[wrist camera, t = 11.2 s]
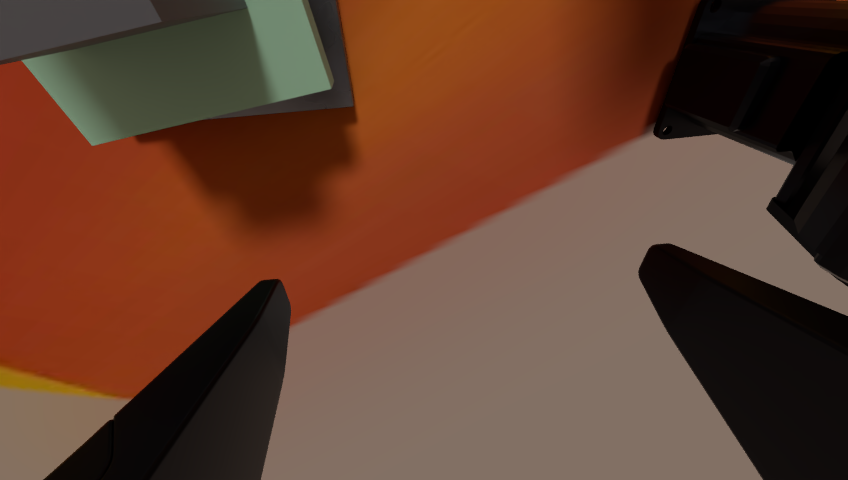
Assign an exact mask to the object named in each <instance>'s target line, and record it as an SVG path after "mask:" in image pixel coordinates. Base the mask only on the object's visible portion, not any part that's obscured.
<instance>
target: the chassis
mask: <svg viewBox="0 0 848 480" xmlns="http://www.w3.org/2000/svg"><path fill="white" fill-rule="evenodd" d="M308 2H309V5H310V8H311V11H312V14H313V17H314V20H315V23H316V26H317V30H318V33H319V36H320V39H321V42H322V45H323V48H324V51H325V54H326V57H327V60H328V63H329V66H330V69H331V72H332V75H333V79H334V83H333V86H332V89H329V90H325V91H321V92H316V93H312V94H308V95H304V96H299V97H295V98H291V99H287V100H283V101H278V102H274V103H270V104H266V105H262V106H257V107H253V108H249V109H245V110H241V111H236V112H232V113H228V114H224V115H219V116H215V117H211V118H207V119H218V118H229V117H240V116H252V115H263V114H274V113H285V112H297V111H308V110H319V109H330V108H342V107H353V106H354V97H353V90H352V84H351V78H350V72H349V66H348V60H347V54H346V48H345V42H344V36H343V30H342V24H341V18H340V12H339V6H338V0H308ZM203 120H206V119H203Z"/></svg>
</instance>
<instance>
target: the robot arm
mask: <svg viewBox="0 0 848 480" xmlns="http://www.w3.org/2000/svg"><path fill="white" fill-rule="evenodd" d="M713 2H714V6H713V7H712V9H711V10H710V6H711V4H712V3H713ZM666 127H667V128H666ZM665 128H666V130H665V131H663V130H664V129H665ZM653 133H654V135H655V136H656V137H658V138H660V139H674V138H684V137H693V136H702V135H711V134H719V135H722V136H724V137H727V138H729V139H732V140H734V141H736V142H739V143H741V144H744V145H746V146H749V147H751V148H754V149H756V150H758V151H761V152H763V153H766V154H768V155H770V156H773V157H775V158H778V159H780V160H782V161H785V162H787V163H790V164H793V165H794V166H793V168H792V170H791V171H790V173H789V175H788V176H787V178H786V180H785V182H784V184H783V185H782V187H781V189H780V191H779V192H778V194H777V196H776V197H773V198H772V200H771V201H770V203H769V205H768V207H767V211H768V212H769V213H770V214H771V215H772V216H773V217H774V218H775V219H776V220H777V221H778V222H779V223H780V224H781V225H782V226H783V227H784V228H785V229H786V230H787V231H788V232H789V233H790V234H791V235H792V236H793V237H794V238H795V239H796V240H797V241H798V242H799V243H800V244H801V245H802V246H803V247H804V248H805V249H806V250H807V251H808V252H809V253H810V254H811V255H812V256H813V257H814V261H815V262H816V263H817V264H818V265H819V266H820V267H821V268H822V269H824V270H825V271H827V272H829V273H830V274H831V275H833V276H834V277H835V278H836V279H838V280H839V281H841V282H842V283H844V284H845V285H846V286H848V1H836V0H701V2H700V3H699V5H698V8H697V11H696V13H695V16H694V19H693V22H692V25H691V27H690V30H689V33H688V36H687V38H686V41H685V44H684V47H683V49H682V52H681V55H680V58H679V61H678V63H677V66H676V69H675V72H674V74H673V77H672V80H671V83H670V85H669V88H668V91H667V94H666V97H665V99H664V102H663V105H662V108H661V110H660V113H659V116H658V119H657V121H656V124H655V127H654V131H653ZM638 273H639V278H640V280H641V282H642V284H643V286H644V288H645V290H646V292H647V294H648V296H649V298H650V300H651V302H652V304H653V306H654V308H655V310H656V311H657V313H658V315H659V317H660V319H661V321H662V323H663V325H664V327H665V328H666V330H667V332H668V334H669V335H670V337H671V338H672V340H673V341H674V343H675V345H676V346H677V348H678V349H679V351H680V352H681V354H682V356H683V357H684V358H685V360H686V361H687V363H688V365H689V366H690V368H691V369H692V371H693V372H694V374H695V376H696V377H697V379H698V380H699V382H700V383H701V385H702V386H703V388H704V389H705V391H706V393H707V394H708V396H709V397H710V399H711V400H712V402H713V403H714V405H715V406H716V408H717V409H718V411H719V412H720V414H721V415H722V417H723V419H724V420H725V422H726V423H727V425H728V426H729V428H730V429H731V431H732V433H733V434H734V436H735V437H736V439H737V440H738V442H739V443H740V445H741V446H742V448H743V450H744V451H745V453H746V454H747V456H748V457H749V459H750V460H751V462H752V463H753V465H754V466H755V468H756V470H757V471H758V473H759V474H760V476H761V477H762V479H763V480H848V316H846V315H844V314H841V313H839V312H836V311H834V310H831V309H829V308H827V307H824V306H822V305H819V304H817V303H814V302H812V301H809V300H807V299H805V298H802V297H800V296H797V295H795V294H792V293H790V292H787V291H785V290H783V289H780V288H778V287H775V286H773V285H770V284H768V283H765V282H763V281H761V280H758V279H756V278H753V277H751V276H748V275H746V274H744V273H741V272H738V271H736V270H734V269H731V268H729V267H726V266H724V265H722V264H719V263H717V262H714V261H712V260H709V259H707V258H704V257H702V256H700V255H697V254H694V253H692V252H690V251H687V250H685V249H683V248H680V247H678V246H675V245H672V244H656V245H652V246H651V247H650V248H649V249H648V251H647V253H646V255H645V257H644V259H643V262H642V264H641V266H640V268H639V272H638ZM290 316H291V306H290V302H289V299H288V297H287V294H286V291H285V289H284V286H283V283H282V282H281V280H279V279H270V280H262V281H260V282H259V283H257V284H256V285H255V286H254V287H253V288H252V289H251V290H250V291H249V292H248V293H246V294H245V295H244V296H243V297H242V298H241V299H240V300H239V301H238V302H237V303H236V304H235V305H234V306H232V307H231V308H230V309H229V310H228V311H227V312H226V313H225V314H224V315H223V316H222V317H221V318H219V319H218V320H217V321H216V322H215V323H214V324H213V325H212V326H211V327H210V328H209V329H208V330H206V331H205V332H204V333H203V334H202V335H201V336H200V337H199V338H198V339H197V340H196V341H195V342H193V343H192V344H191V345H190V346H189V347H188V348H187V349H186V350H185V351H184V352H183V353H182V354H180V355H179V356H178V357H177V358H176V359H175V360H174V361H173V362H172V363H171V364H170V365H169V366H168V367H166V368H165V369H164V370H163V371H162V372H161V373H160V374H159V375H158V376H157V377H156V378H155V379H153V380H152V381H151V382H150V383H149V384H148V385H147V386H146V387H145V388H144V389H143V390H142V391H140V392H139V393H138V394H137V395H136V396H135V397H134V398H133V399H132V400H131V401H130V402H129V403H127V404H126V405H125V406H124V407H123V408H122V409H121V410H120V411H119V412H118V413H117V414H116V415H115V416H114V420H109V421H108V422H107V423H106V424H105V425H104V426H102V427H101V428H100V429H99V430H98V431H97V432H96V433H95V434H94V435H93V436H92V437H90V438H89V439H88V440H87V441H86V442H85V443H84V444H83V445H82V446H81V447H79V448H78V449H77V450H76V451H75V452H74V453H73V454H72V455H70V457H68V458H67V459H66V460H65V461H64V462H63V463H62V464H60V465H59V466H58V467H57V468H56V469H55V470H54V471H53V472H52V473H50V474H49V475H48V476H47V477H46V478H45V479H43V480H261V475H262V472H263V466H264V462H265V458H266V454H267V449H268V445H269V440H270V436H271V431H272V427H273V423H274V418H275V414H276V410H277V405H278V401H279V396H280V391H281V388H282V383H283V378H284V372H285V364H286V355H287V345H288V335H289V326H290Z"/></svg>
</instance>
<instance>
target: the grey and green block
mask: <svg viewBox="0 0 848 480" xmlns="http://www.w3.org/2000/svg"><path fill="white" fill-rule="evenodd" d="M21 60H22V61H23V63H24V64H25V65H26V66H27V67H28V69H29V70H30V71H31V72H32V73H33V75H34V76H35V77H36V78H37V80H38V81H39V82H40V83H41V84H42V86H43V87H44V88H45V89H46V90H47V92H48V93H49V94H50V95H51V96H52V98H53V99H54V100H55V101H56V103H57V104H58V105H59V106H60V107H61V109H62V110H63V111H64V112H65V113H66V115H67V116H68V117H69V118H70V119H71V121H72V122H73V123H74V124H75V125H76V127H77V128H78V129H79V130H80V132H81V133H82V134H83V135H84V136H85V138H86V139H87V140H88V141H89V142H90V144H91V145H92V146H93V145H97V144H102V143H106V142H110V141H114V140H118V139H123V138H127V137H131V136H135V135H139V134H144V133H148V132H152V131H156V130H161V129H165V128H169V127H173V126H177V125H182V124H186V123H190V122H194V121H198V120H203V119H207V118H211V117H215V116H219V115H224V114H228V113H232V112H236V111H241V110H245V109H249V108H253V107H257V106H262V105H266V104H270V103H274V102H278V101H283V100H287V99H291V98H295V97H299V96H304V95H308V94H312V93H316V92H321V91H325V90H329V89H332V86H333V83H334V79H333V75H332V72H331V69H330V66H329V63H328V60H327V57H326V54H325V51H324V48H323V45H322V42H321V39H320V36H319V33H318V30H317V26H316V23H315V20H314V17H313V14H312V11H311V8H310V5H309V2H308V0H0V65H1V64H6V63H11V62H16V61H21Z"/></svg>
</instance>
